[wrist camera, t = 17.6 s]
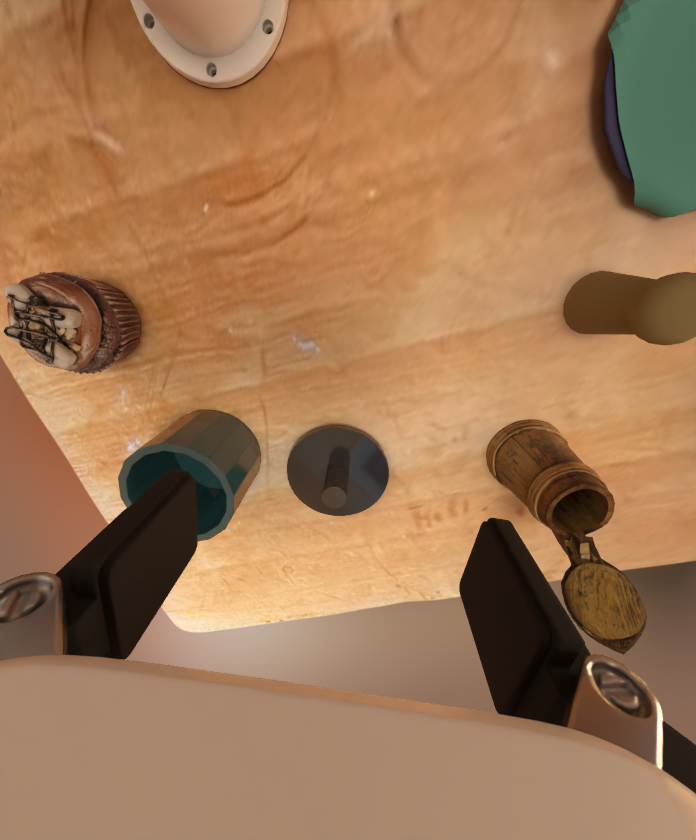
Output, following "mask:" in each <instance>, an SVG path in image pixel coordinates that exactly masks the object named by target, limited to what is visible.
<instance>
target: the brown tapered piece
mask: <svg viewBox="0 0 696 840" xmlns="http://www.w3.org/2000/svg"><path fill="white" fill-rule="evenodd" d="M564 317H565V320H566V323H567V324H568V325H569V327H570V328H571V329H572V330H574V331H576V332H578V333H583V334H635V335H636V336H637V337H639V338H641V339H642V340H644V341H646V342H648V343H652V344H658V345H673V344H678V343H683V342H685V341H687V340H689V339H692V338H694V337H696V273H689V272H682V273H676V274H671V275H666V276H664V277H661V278H659V279H657V280H656V279H650V278H644V277H638V276H632V275H626V274H620V273H614V272H606V271H599V272H595V273H591V274H589V275H587V276H585V277H583V278H582V279H580V280H579V281H578V282H577V283H576V284H575V285H574V286H573V287H572V289H571V290H570V292H569V293H568V295H567V297H566V300H565V303H564Z"/></svg>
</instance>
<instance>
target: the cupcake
mask: <svg viewBox="0 0 696 840" xmlns="http://www.w3.org/2000/svg"><path fill="white" fill-rule="evenodd" d="M2 291H3V293H4V295H5V296H6V298H7V299H8V301H9V302H8V318H9V323H10V326H9V327H6V328H5V330H4V332H5V334H6V335H7V336H9V337H11V338H12V339H13V340H14V341H16V342H18V343H20V345H21V346H22V347H23V348H24V349H25V350H26V351H27V353H28V354H29V355H30V356H31V357H33V358H34V359H35V360H37V361H38V362H40V363H42V364H44V365H47V366H50V367H55V368H60V369H64V370H68V371H70V372H71V371H74V372H75V373H77V372H79V373H80V374H82V373H83V372H85V373H87V374H90V373H93V374H94V373H96V372H97V371H99V372H101V371H103V370H104V369H107V368H108V367H110V366H111V365H112V364H113V363H114V362H116V361H117V360H119V359H120V358H122V357H124V356H125V355H127V354H129V353H130V352H131V351H132V350H134V349H135V348H136V345H137V344H138V343H140V340H139V336H140V332H141V323H140V319H139V314H138V312H137V309H136V308H135V306H134V304H133V303H132V302H131V301H130V299H129V298H127V297H126V296H125V294H124V293H123V292H122V291H120V290H118V289H116V288H114V287H111V286H109V285H108V284H105V283H103V282H99V281H95V280H91V279H87V278H83V277H80V276H76V275H71V274H68V273H65V272H60V273H59V272H53V273H47V274H46V273H45V272H44V273H41V272H40V274H39V275H35V276H33V277H30V278H27V279H24V280H22V281H21V282H20V283H19V284H9V285H7V286H5V288H4V289H3V290H2Z"/></svg>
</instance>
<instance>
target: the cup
mask: <svg viewBox="0 0 696 840" xmlns="http://www.w3.org/2000/svg"><path fill="white" fill-rule="evenodd" d="M260 463H261V453H260V448H259V445H258V442H257V440H256V438H255V436H254V435H253V433H252V432H251V431H250V429H249V428H248V427H247V426H246V425H245V424H244V423H242V422H241V421H240V420H238V419H237V418H235V417H234V416H231V415H229V414H227V413H224V412H221V411H216V410H200V411H195V412H192V413H190V414H187V415H185V416H184V417H182V418H181V419H179V420H178V421H177V422H175V423H174V424H173V425H171V426H170V427H168V428H167V429H166V430H164V431H163V432H161V433H160V434H159V435H157V436H156V437H155V438H153V439H152V440H150V441H149V442H148V443H146V444H145V445H143V446H142V447H141V448H139V449H138V450H137V451H136V452H134V453H133V454H132V455H131V456H129V457H128V458H127V459H126V460H125V461H124V464H123V466H122V469H121V472H120V474H119V477H118V480H119V488H120V495H121V498H122V500H123V502H124V504H125V505H126V507H127V508H128V507H129V506H130V505H131V504H132V503H134V502H135V501H136V500H137V499H138V498H139V497H140V496H141V495H142V494H143V493H144V492H145V491H146V490H147V489H148V488H150V487H151V486H152V485H153V484H154V483H155V482H156V481H157V480H158V479H159V478H160V477H161V476H162V475H163V474H164V473H166V472H167V471H168V470H169V469H175V470H182V471H188V472H190V474H191V477H195V479H196V507H197V541H203V540H208V539H211V538H212V537H214V536H215V535H217V534H218V533H220V532H221V531H223V530H225V529H226V527H227V525H228V523H229V522H230V520H231V518H232V516H233V515H234V513H235V511H236V509H237V508H238V506H239V504H240V502H241V501H242V499H243V497H244V495H245V494H246V492H247V490H248V488H249V487H250V485H251V483H252V481H253V480H254V478H255V476H256V475H257V473H258V471H259V467H260Z"/></svg>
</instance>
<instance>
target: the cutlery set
mask: <svg viewBox="0 0 696 840" xmlns="http://www.w3.org/2000/svg"><path fill="white" fill-rule="evenodd" d="M608 37H609V40H610V43H611V46H612V48H611V52H610V57H609V61H608V65H607V70H606V74H605V78H604V83H603V110H604V133H605V136H606V139H607V141H608V144H609V147H610V150H611V153H612V156H613V158H614V161H615V164H616V167H617V169H618V170H619V171H620V172H621V173H622V174H623V176H624V177H625V178H626V179H627V180H628V181H629V182H630V183H631V184H632V186H633V187H634V188H635V196H634V205H635V206H637V207H641V208H644V209H647V210H648V211H650V212H652V213H653V214H655V215H658V216H661V217H674V216H677V215H681V214H684V213H687V212H689V211H691V210H694V209H696V0H624V2H623V4H622V6H621V8H620V9H619V11H618V13H617V15H616V19H615V21H614V23H613V24H612V26H611V28H610V29H609V31H608Z"/></svg>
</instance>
